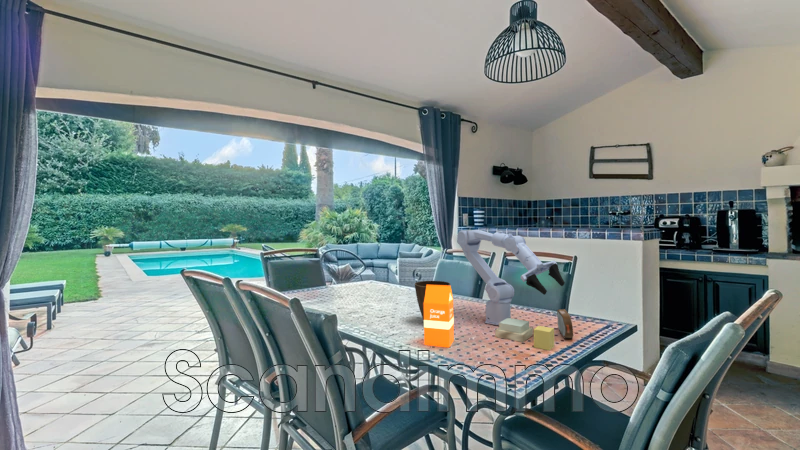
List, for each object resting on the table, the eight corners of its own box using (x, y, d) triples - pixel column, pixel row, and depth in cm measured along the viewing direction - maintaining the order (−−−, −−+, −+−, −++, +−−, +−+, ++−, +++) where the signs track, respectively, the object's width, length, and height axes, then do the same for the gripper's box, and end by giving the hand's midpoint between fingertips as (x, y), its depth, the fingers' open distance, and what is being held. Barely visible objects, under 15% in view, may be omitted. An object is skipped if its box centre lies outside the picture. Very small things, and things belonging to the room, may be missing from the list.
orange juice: (449, 347, 117) (448, 287, 117) (423, 344, 120) (422, 286, 120) (454, 340, 125) (453, 283, 125) (430, 337, 128) (429, 282, 128)
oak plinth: (495, 336, 128) (495, 329, 128) (506, 329, 135) (506, 323, 135) (523, 342, 121) (522, 335, 121) (532, 334, 129) (532, 327, 129)
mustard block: (533, 347, 116) (533, 329, 116) (538, 343, 120) (538, 325, 120) (549, 350, 113) (549, 332, 113) (554, 346, 117) (554, 328, 117)
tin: (574, 341, 121) (573, 317, 121) (564, 341, 122) (563, 316, 122) (564, 328, 136) (564, 306, 136) (556, 328, 136) (555, 306, 136)
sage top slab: (499, 329, 128) (499, 322, 128) (507, 324, 134) (507, 317, 134) (521, 333, 123) (521, 326, 123) (529, 328, 129) (529, 321, 129)
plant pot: (432, 314, 159) (431, 279, 159) (458, 321, 148) (457, 283, 147) (407, 321, 149) (407, 283, 149) (433, 329, 138) (433, 288, 138)
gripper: (515, 261, 127) (540, 290, 119) (548, 246, 130) (574, 274, 122) (511, 272, 132) (535, 301, 124) (543, 258, 136) (568, 285, 127)
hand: (554, 288), depth 123 cm, fingers open, 7 cm apart
